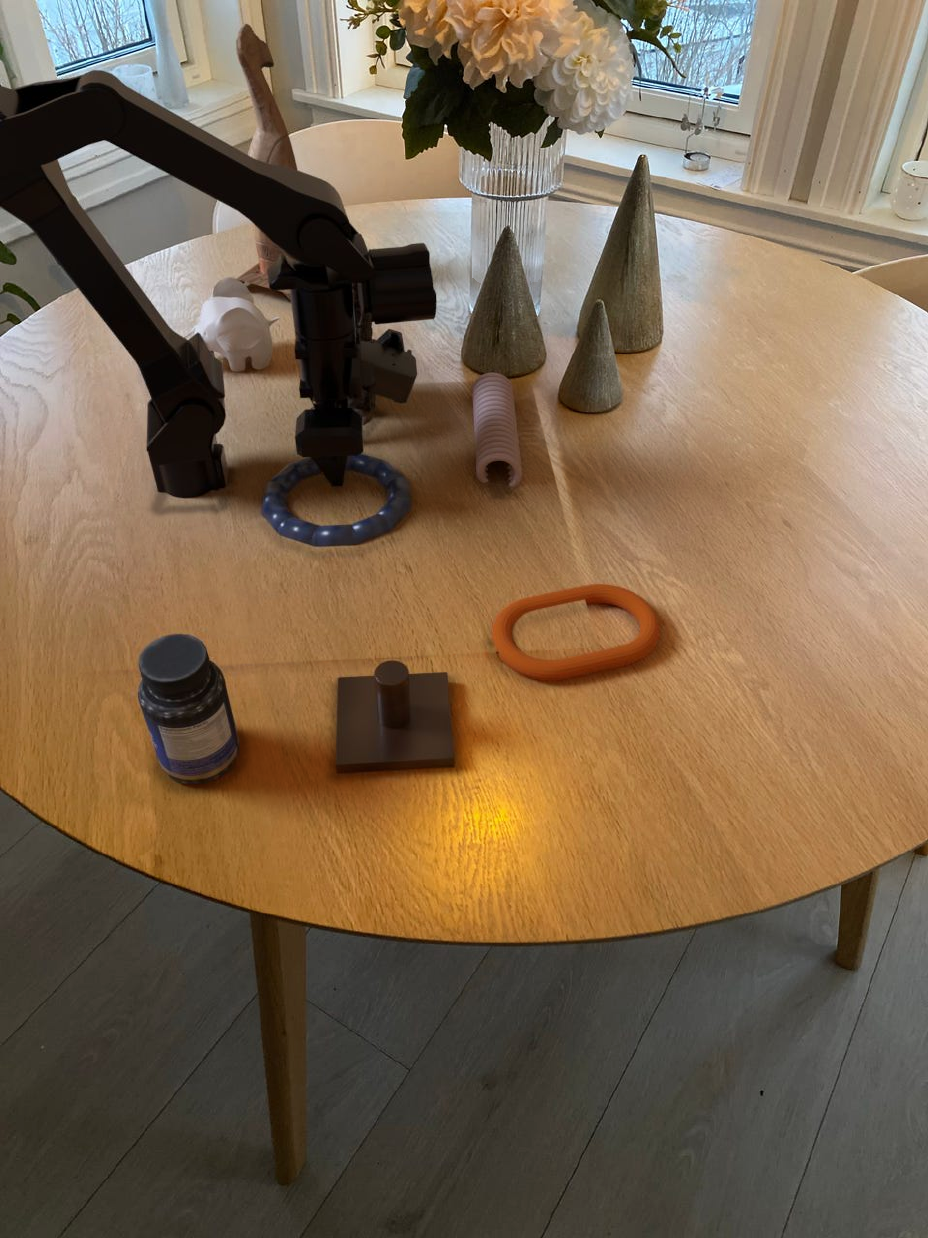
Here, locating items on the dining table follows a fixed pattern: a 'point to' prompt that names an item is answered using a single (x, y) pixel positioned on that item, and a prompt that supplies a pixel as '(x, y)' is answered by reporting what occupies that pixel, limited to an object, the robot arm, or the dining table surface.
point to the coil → (495, 426)
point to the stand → (393, 721)
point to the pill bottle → (187, 709)
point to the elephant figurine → (235, 326)
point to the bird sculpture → (263, 139)
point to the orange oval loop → (584, 661)
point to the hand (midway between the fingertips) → (338, 465)
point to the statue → (364, 323)
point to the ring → (336, 534)
